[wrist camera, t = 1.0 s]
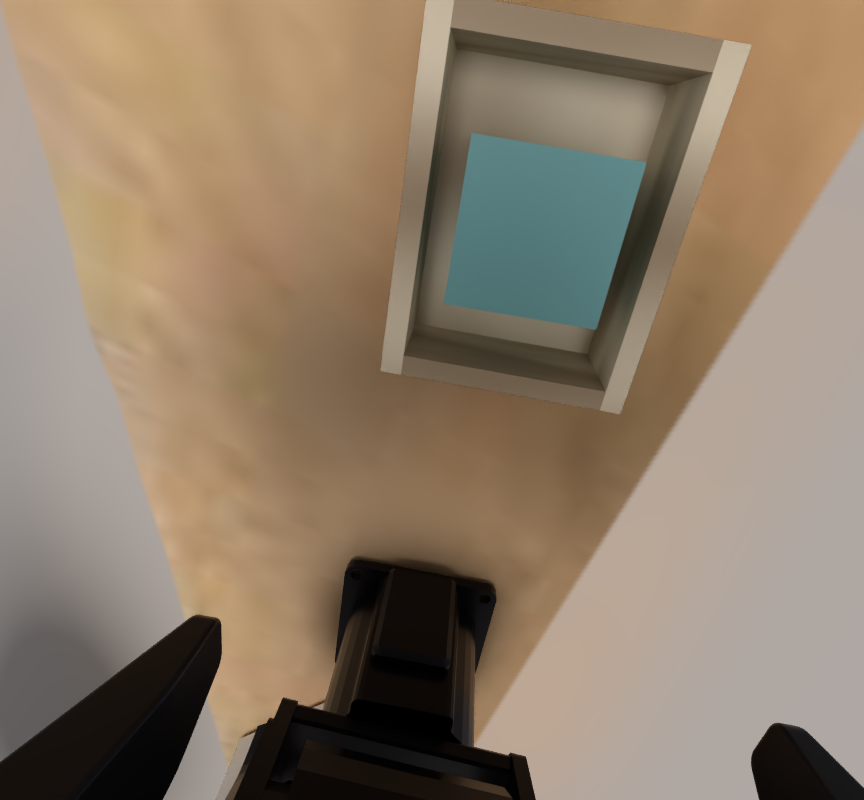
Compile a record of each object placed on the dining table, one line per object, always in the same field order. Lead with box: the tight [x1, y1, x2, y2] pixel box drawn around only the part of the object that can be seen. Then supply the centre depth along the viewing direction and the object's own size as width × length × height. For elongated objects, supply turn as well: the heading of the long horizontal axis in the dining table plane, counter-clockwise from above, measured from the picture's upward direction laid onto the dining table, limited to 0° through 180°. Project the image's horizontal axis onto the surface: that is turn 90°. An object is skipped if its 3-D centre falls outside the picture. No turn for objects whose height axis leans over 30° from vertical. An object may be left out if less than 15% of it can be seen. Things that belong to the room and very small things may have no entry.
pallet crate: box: [380, 0, 752, 414], centre depth 15 cm, size 9×7×4 cm
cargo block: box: [444, 133, 647, 330], centre depth 14 cm, size 4×4×4 cm
